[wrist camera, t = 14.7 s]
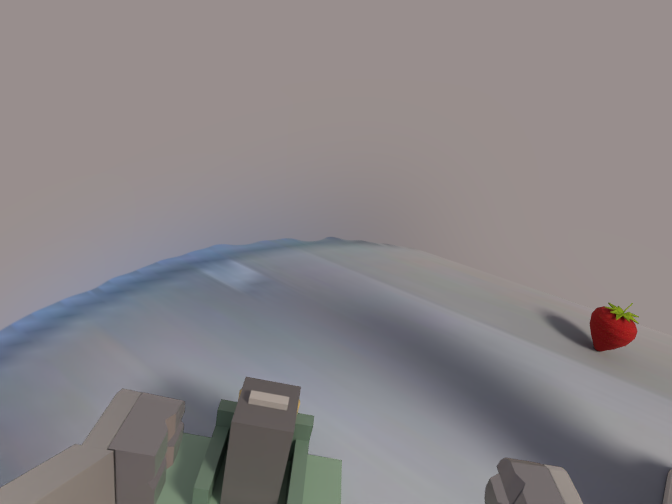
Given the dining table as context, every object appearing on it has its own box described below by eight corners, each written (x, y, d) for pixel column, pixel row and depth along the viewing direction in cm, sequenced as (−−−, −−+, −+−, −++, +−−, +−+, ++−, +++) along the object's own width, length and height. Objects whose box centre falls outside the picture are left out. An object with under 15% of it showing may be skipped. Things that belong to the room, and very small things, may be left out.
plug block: (274, 514, 35) (295, 426, 30) (219, 505, 35) (232, 415, 30) (282, 465, 39) (302, 381, 35) (233, 457, 39) (246, 371, 34)
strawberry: (597, 337, 76) (626, 291, 71) (627, 366, 69) (660, 317, 65) (569, 334, 75) (596, 286, 70) (597, 363, 68) (628, 313, 64)
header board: (334, 615, 31) (360, 552, 27) (114, 582, 30) (111, 513, 26) (339, 466, 42) (358, 407, 38) (177, 438, 41) (181, 375, 37)
